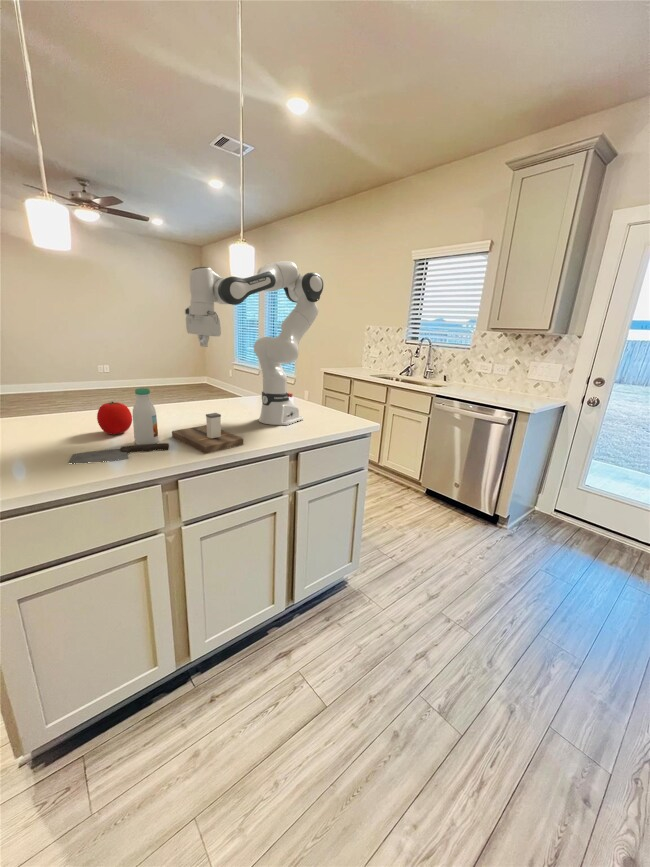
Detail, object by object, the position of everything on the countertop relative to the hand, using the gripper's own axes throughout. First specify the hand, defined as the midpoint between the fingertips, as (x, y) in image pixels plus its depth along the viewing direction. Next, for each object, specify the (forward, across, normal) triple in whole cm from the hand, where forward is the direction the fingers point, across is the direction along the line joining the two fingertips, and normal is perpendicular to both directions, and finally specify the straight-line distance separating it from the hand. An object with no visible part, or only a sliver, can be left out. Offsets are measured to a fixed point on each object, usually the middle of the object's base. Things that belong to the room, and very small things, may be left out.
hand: (203, 346), depth 144 cm
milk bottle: (+34, -6, +28) cm, 45 cm away
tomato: (+34, +12, +32) cm, 48 cm away
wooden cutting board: (+34, -17, +10) cm, 39 cm away
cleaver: (+35, -13, +39) cm, 54 cm away
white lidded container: (+31, -22, +10) cm, 39 cm away
